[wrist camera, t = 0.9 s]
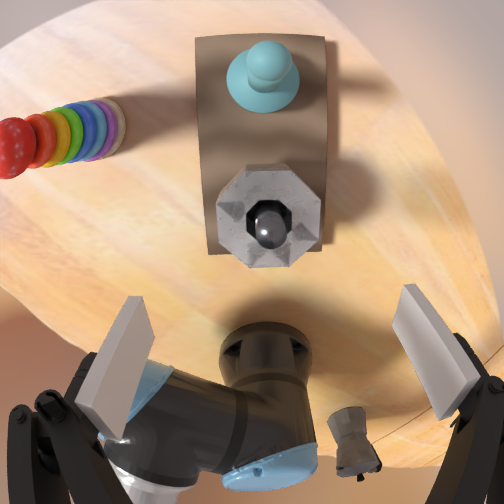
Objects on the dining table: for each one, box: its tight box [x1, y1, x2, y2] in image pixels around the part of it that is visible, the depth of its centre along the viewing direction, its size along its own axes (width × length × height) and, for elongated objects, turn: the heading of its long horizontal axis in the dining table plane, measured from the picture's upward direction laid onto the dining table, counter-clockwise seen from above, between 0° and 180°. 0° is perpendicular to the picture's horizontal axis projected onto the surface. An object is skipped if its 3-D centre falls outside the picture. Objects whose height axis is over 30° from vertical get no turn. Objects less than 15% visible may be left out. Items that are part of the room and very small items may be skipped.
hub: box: [227, 40, 300, 113], centre depth 20 cm, size 7×7×14 cm
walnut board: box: [195, 33, 327, 255], centre depth 30 cm, size 26×14×2 cm, turn 2°
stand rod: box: [247, 200, 287, 249], centre depth 27 cm, size 6×6×11 cm
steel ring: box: [216, 163, 321, 268], centre depth 27 cm, size 9×9×4 cm
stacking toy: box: [0, 98, 126, 179], centre depth 21 cm, size 8×8×19 cm
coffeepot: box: [327, 407, 382, 482], centre depth 49 cm, size 15×9×18 cm, turn 57°
